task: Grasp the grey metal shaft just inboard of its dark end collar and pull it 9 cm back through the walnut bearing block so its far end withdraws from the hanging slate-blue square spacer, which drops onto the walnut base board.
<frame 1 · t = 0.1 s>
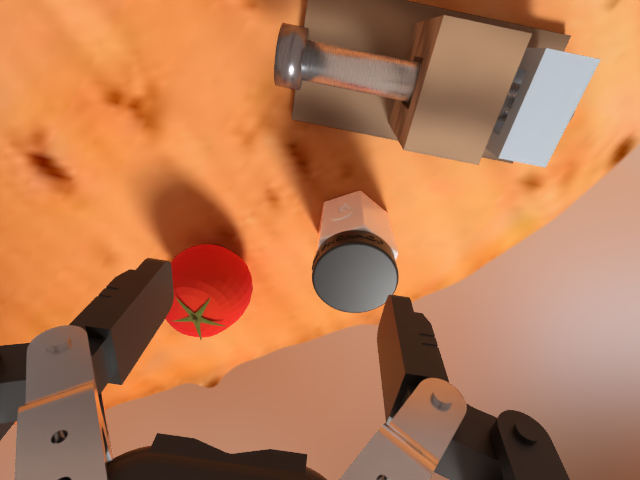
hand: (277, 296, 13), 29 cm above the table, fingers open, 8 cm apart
jar: (352, 222, 44), on the table
bearing block: (428, 81, 35), on the table
spacer: (504, 98, 34), point 2 cm above the table, touching shaft
shaft: (423, 84, 29), point 7 cm above the table, slide at 0.0 cm, touching spacer
tomato: (220, 265, 48), on the table
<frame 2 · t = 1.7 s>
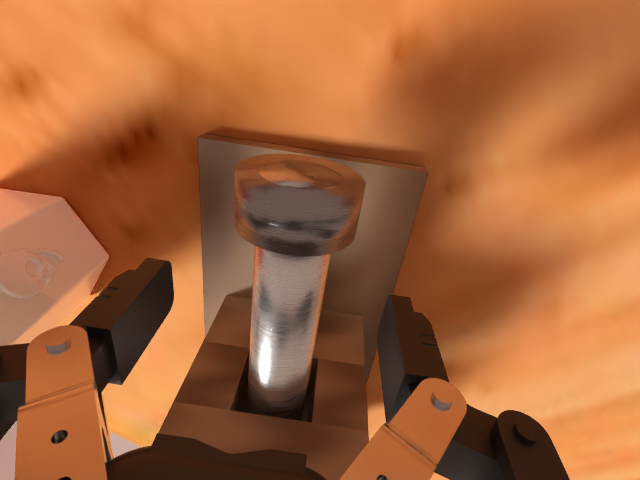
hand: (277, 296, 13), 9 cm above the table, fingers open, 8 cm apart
jar: (46, 244, 24), on the table
bearing block: (292, 328, 25), on the table
shaft: (276, 394, 18), point 7 cm above the table, slide at 0.0 cm, touching spacer
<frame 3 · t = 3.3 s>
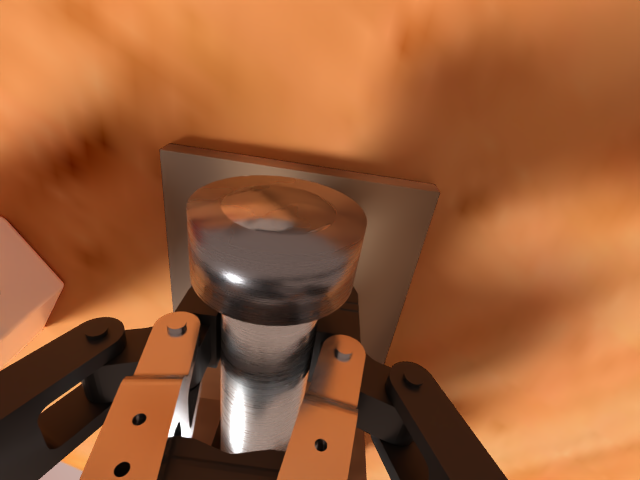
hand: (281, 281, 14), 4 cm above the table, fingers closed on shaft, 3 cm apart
bearing block: (279, 364, 22), on the table
shaft: (257, 461, 15), point 7 cm above the table, slide at 0.0 cm, touching gripper, spacer
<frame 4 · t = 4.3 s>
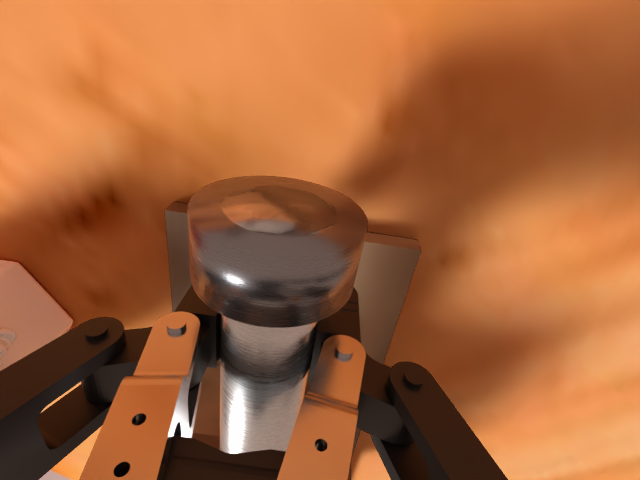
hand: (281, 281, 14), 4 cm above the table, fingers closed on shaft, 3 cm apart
jar: (4, 306, 22), on the table
bearing block: (274, 393, 24), on the table
shaft: (255, 461, 15), point 7 cm above the table, slide at 2.9 cm, touching gripper
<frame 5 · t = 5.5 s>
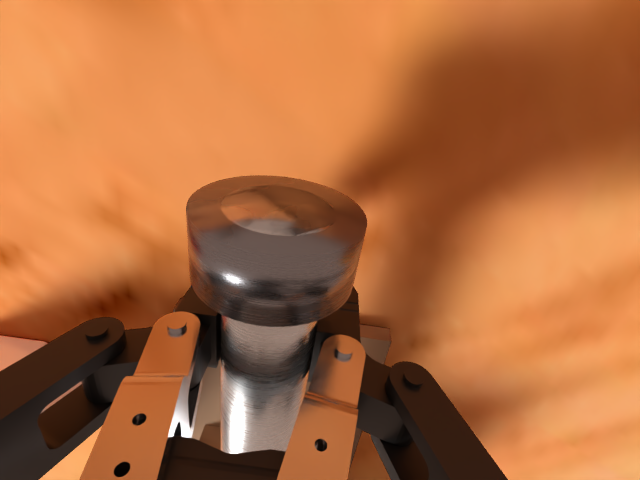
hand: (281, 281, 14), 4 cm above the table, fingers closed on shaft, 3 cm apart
jar: (31, 373, 25), on the table
bearing block: (269, 444, 27), on the table
shaft: (257, 461, 15), point 7 cm above the table, slide at 8.8 cm, touching gripper
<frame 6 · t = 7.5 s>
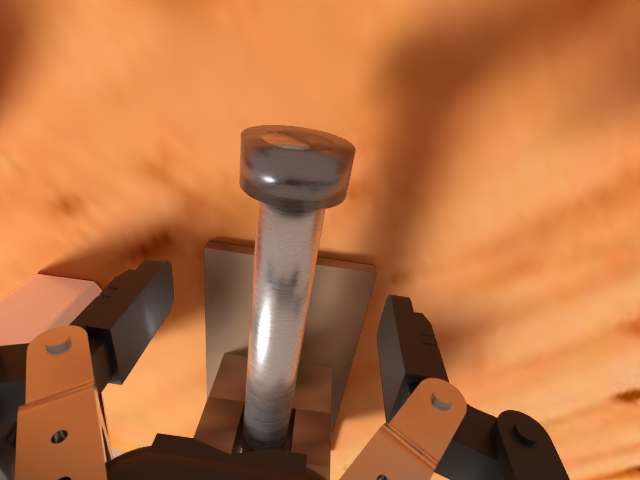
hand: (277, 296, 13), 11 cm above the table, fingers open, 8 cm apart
jar: (78, 312, 29), on the table
bearing block: (277, 374, 32), on the table
shaft: (274, 349, 20), point 7 cm above the table, slide at 8.9 cm
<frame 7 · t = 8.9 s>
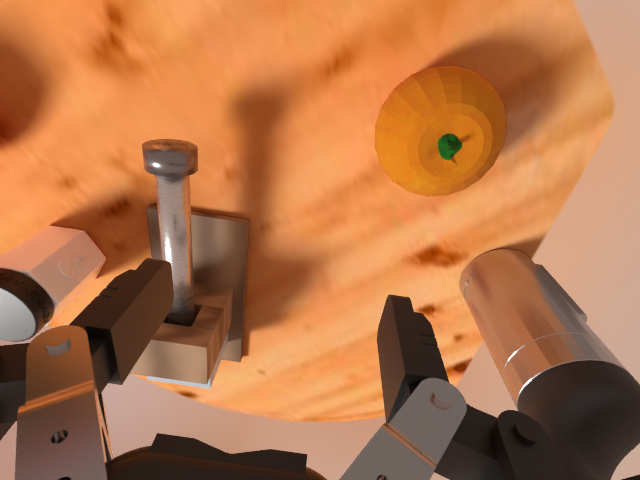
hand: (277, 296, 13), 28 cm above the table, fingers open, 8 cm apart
jar: (74, 252, 47), on the table
bearing block: (202, 295, 49), on the table
spacer: (200, 327, 51), point 1 cm above the table, touching bearing block
shaft: (177, 257, 38), point 7 cm above the table, slide at 8.9 cm
fruit: (428, 125, 37), on the table
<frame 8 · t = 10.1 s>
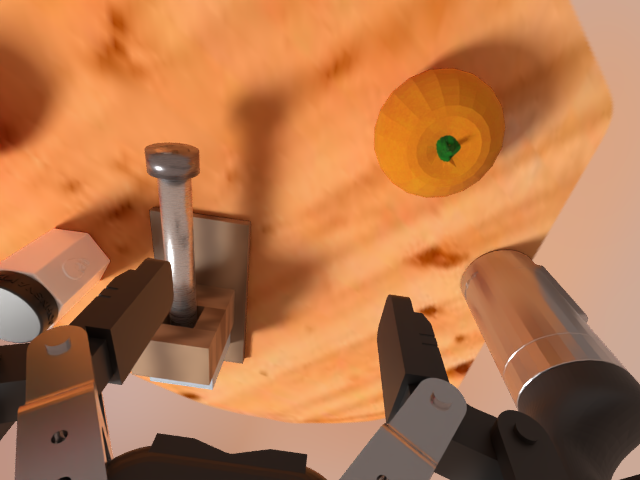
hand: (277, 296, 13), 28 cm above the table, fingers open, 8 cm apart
jar: (78, 254, 48), on the table
bearing block: (204, 297, 50), on the table
spacer: (202, 329, 51), point 1 cm above the table, touching bearing block
shaft: (179, 259, 38), point 7 cm above the table, slide at 8.9 cm
fruit: (427, 127, 37), on the table
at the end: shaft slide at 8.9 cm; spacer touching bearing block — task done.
